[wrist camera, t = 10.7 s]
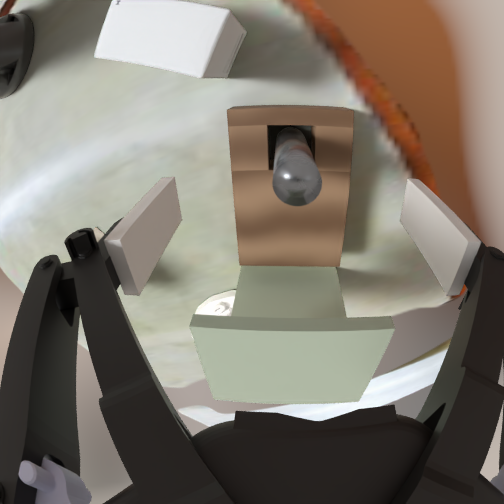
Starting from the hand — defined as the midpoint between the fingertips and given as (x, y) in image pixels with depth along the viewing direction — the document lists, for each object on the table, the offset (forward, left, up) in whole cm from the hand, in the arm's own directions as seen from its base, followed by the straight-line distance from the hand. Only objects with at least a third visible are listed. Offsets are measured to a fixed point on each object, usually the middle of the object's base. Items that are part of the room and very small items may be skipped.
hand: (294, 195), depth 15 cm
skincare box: (-12, -10, -17) cm, 23 cm away
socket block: (+5, 0, -17) cm, 18 cm away
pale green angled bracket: (+14, 0, -17) cm, 22 cm away
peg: (0, 0, -17) cm, 17 cm away
